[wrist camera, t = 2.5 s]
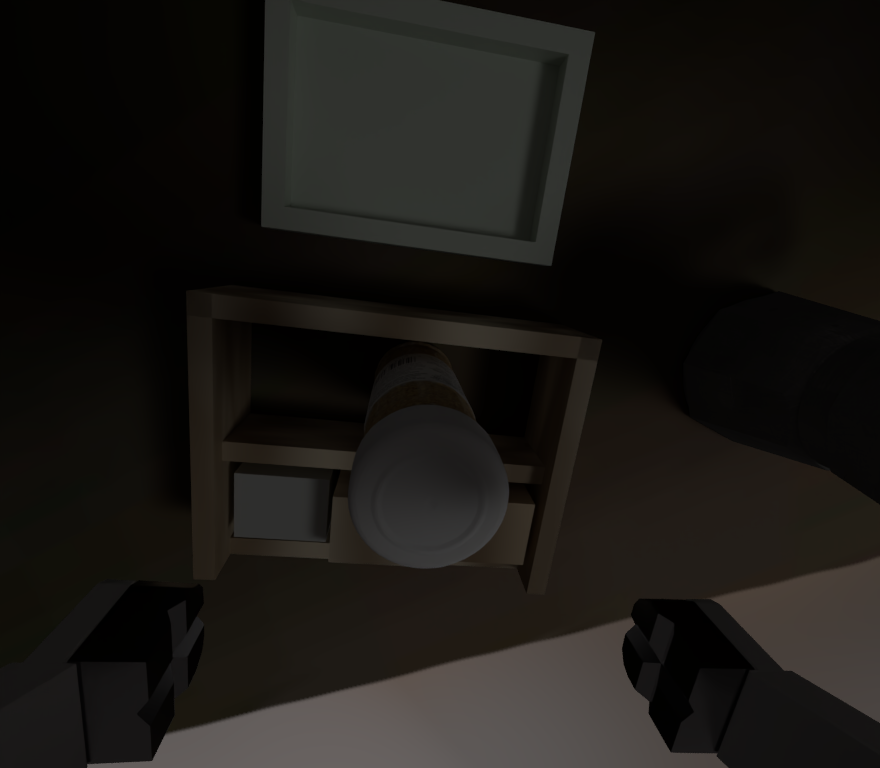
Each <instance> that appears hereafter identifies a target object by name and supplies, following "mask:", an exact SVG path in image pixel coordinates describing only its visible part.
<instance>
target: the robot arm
mask: <svg viewBox="0 0 880 768" xmlns="http://www.w3.org/2000/svg"><path fill="white" fill-rule="evenodd" d="M203 604H204V596H203V587H202V586H201V585H200V584H193V583H175V582H158V581H140V580H139V581H130V580H112V579H107V580H105V581H102V582H100V583H98V584H97V585H96V586H95V587H94V588H93V589H92V590H91V591H90V592H89V593H88V594H87V595H86V596H85V597H84V598H83V599H82V601H81V602H80V603H79V604H78V605H77V606H76V607H75V608H74V609H73V610H72V611H71V612H70V613H69V614H68V615H67V616H66V617H65V619H64V620H63V621H62V622H61V623H60V624H59V625H58V626H57V627H56V628H55V629H54V630H53V631H52V632H51V633H50V634H49V635H48V637H47V638H46V639H45V640H44V641H43V642H42V643H41V644H40V645H39V646H38V647H37V648H36V649H35V650H34V651H33V652H32V653H31V655H30V656H29V657H28V658H27V659H26V660H25V661H24V662H23V663H10V664H8V665H6V666H4V667H2V668H1V669H0V768H87V764H95V763H96V764H98V763H116V762H117V763H119V762H140V761H152V760H153V758H154V756H155V754H156V752H157V750H158V748H159V745H160V744H161V742H162V739H163V738H164V736H165V734H166V732H167V730H168V728H169V726H170V724H171V722H172V720H173V717H174V715H175V710H174V699H175V698H176V697H177V696H178V695H180V694H181V693H182V692H183V691H185V690H186V689H187V688H188V687H189V685H190V683H191V681H192V678H193V676H194V674H195V672H196V669H197V666H198V663H199V660H200V657H201V653H202V649H203V642H204V624H203V623H202V621H201V620H200V619H199V618H198V617H197V615H198V613H199V611H200V609H201V608H202V606H203ZM631 616H632V618H633V620H634V623H635V625H634V626H633V627H632V628H631V629H630V630H629V631H628V632H627V633H626V634H625V638H624V643H623V647H622V652H623V662H624V666H625V669H626V672H627V675H628V678H629V679H630V681H631V683H632V685H633V687H634V688H635V690H636V691H637V692H639V693H640V694H641V695H642V696H644V697H645V698H646V699H647V700H648V701H649V715H650V717H651V718H652V720H653V722H654V724H655V726H656V727H657V729H658V731H659V733H660V734H661V736H662V738H663V740H664V741H665V743H666V745H667V747H668V748H669V750H670V752H675V753H718V754H717V757H718V758H719V759H720V760H721V761H722V762H723V763H724V764H725V765H727V766H728V767H729V768H880V723H879V722H877V721H875V720H873V719H872V718H870V717H869V716H867V715H865V714H864V713H862V712H860V711H858V710H857V709H855V708H853V707H852V706H850V705H848V704H847V703H845V702H843V701H842V700H840V699H838V698H836V697H835V696H833V695H831V694H830V693H828V692H826V691H825V690H823V689H821V688H820V687H818V686H816V685H814V684H813V683H811V682H809V681H808V680H806V679H804V678H803V677H801V676H799V675H798V674H796V673H794V672H793V671H784V670H783V669H782V668H781V667H780V666H779V665H778V664H777V663H776V662H775V661H774V660H773V659H772V658H771V657H770V656H769V655H768V654H767V653H766V652H765V651H764V650H763V649H762V648H761V646H760V645H759V644H758V643H757V642H756V641H755V640H754V639H753V638H752V637H751V636H750V635H749V634H748V633H747V632H746V631H745V630H744V629H743V628H742V627H741V626H740V625H739V624H738V623H737V622H736V621H735V620H734V618H733V617H732V616H731V615H730V614H729V613H728V612H727V611H726V610H725V609H724V608H723V607H722V606H721V605H720V604H718V603H716V602H714V601H713V600H711V599H687V600H679V599H639V600H638V601H637V602H636V603H635V604H634V606H633V610H632V613H631Z"/></svg>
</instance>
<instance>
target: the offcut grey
mask: <svg viewBox="0 0 880 768" xmlns="http://www.w3.org/2000/svg"><path fill="white" fill-rule="evenodd" d="M338 474H339V469H328V468H315V467H301V466H288V465H275V464H261V463H248V462H243V463H242V464H241V465H240V466H239V468H238V469H237V470H236V471H235V473H234V537H247V538H265V539H283V540H301V541H319V542H326V539H327V535H328V531H329V528H330V524H331V517H332V503H333V495H334V491H335V488H336V485H337V481H338Z"/></svg>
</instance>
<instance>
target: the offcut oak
mask: <svg viewBox="0 0 880 768" xmlns="http://www.w3.org/2000/svg"><path fill="white" fill-rule="evenodd" d="M508 484H509V499H508V505H507V510H506V513H505V516H504V519H503V521H502V523H501V525H500V527H499V528H498V530H497V532H496V533H495V534H494V536H493V537H492V538H491V539H490V541H489V542H488V543H487V544H486V545H485V546H484V547H482V548H481V549H480V550H479V551H477V552H476V553H474V554H473V555H471V556H469V557H468V558H466V559H464V560H461V561H459V562H474V563H494V564H513V565H523V562H524V557H525V552H526V547H527V542H528V537H529V532H530V527H531V523H532V518H533V513H534V508H535V503H534V502H533V500H532V498H531V496H530V494H529V493H528V491H527V489H526V487H525V485H524V484H523V483H515V482H508Z"/></svg>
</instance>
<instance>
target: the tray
mask: <svg viewBox="0 0 880 768" xmlns="http://www.w3.org/2000/svg"><path fill="white" fill-rule="evenodd" d="M594 36H595V32H592V31H587V30H582V29H577V28H572V27H567V26H562V25H557V24H553V23H548V22H543V21H538V20H533V19H528V18H523V17H518V16H513V15H509V14H504V13H499V12H494V11H489V10H484V9H479V8H474V7H470V6H465V5H460V4H455V3H450V2H445V1H440V0H265V39H264V95H263V151H262V207H261V226H262V227H266V228H269V229H273V230H280V231H288V232H295V233H302V234H310V235H317V236H325V237H332V238H339V239H347V240H354V241H361V242H369V243H376V244H383V245H391V246H398V247H405V248H413V249H420V250H427V251H435V252H442V253H450V254H457V255H464V256H472V257H479V258H486V259H494V260H501V261H508V262H516V263H523V264H530V265H538V266H551V265H552V259H553V254H554V249H555V243H556V238H557V233H558V227H559V222H560V217H561V211H562V206H563V201H564V196H565V190H566V185H567V180H568V174H569V169H570V164H571V158H572V153H573V148H574V142H575V137H576V132H577V126H578V121H579V116H580V110H581V105H582V100H583V94H584V89H585V84H586V78H587V73H588V68H589V62H590V57H591V52H592V46H593V41H594Z"/></svg>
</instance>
